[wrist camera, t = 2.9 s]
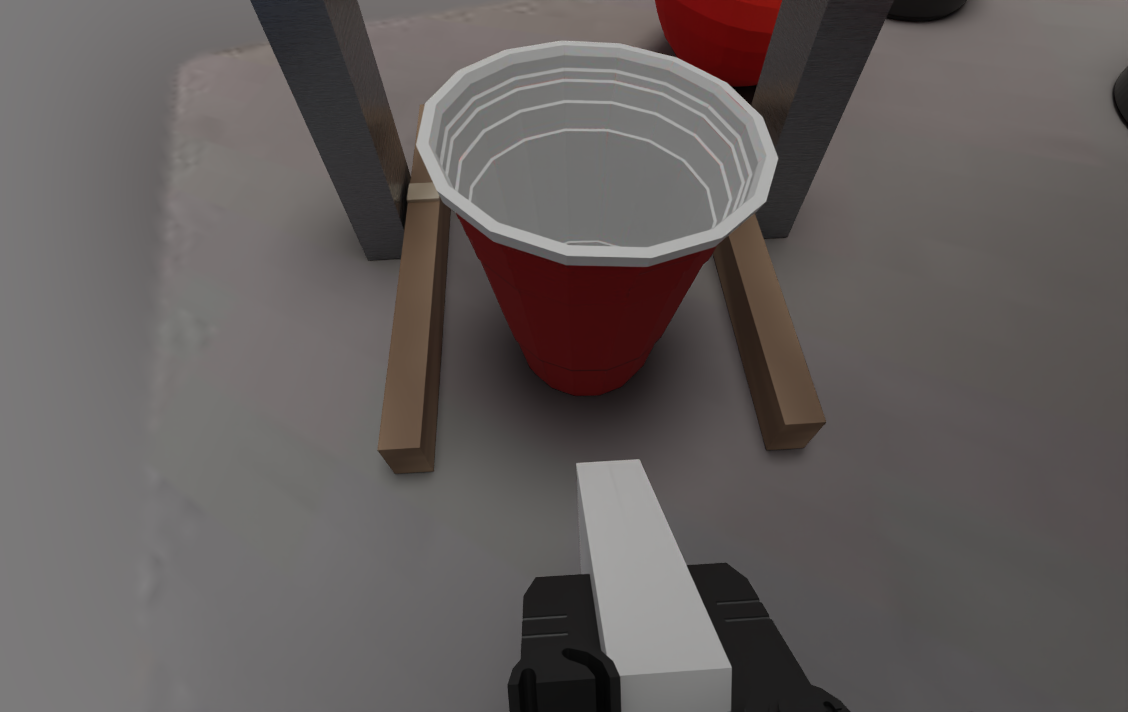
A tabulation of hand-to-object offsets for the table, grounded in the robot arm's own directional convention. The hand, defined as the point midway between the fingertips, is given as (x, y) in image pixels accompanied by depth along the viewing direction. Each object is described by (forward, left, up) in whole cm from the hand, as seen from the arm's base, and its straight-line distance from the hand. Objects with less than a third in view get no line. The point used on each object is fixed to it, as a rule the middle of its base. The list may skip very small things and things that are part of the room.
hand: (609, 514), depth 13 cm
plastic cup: (-1, -11, -9) cm, 14 cm away
